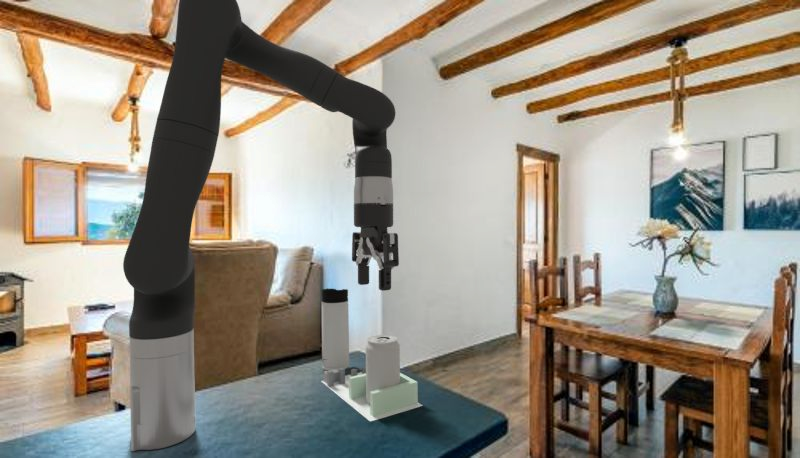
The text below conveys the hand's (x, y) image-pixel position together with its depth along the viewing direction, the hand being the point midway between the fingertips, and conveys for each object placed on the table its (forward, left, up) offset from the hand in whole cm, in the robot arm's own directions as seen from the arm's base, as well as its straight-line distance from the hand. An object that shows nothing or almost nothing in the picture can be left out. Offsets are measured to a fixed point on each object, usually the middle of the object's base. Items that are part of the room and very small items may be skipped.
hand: (373, 287), depth 79 cm
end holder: (+1, -2, -21) cm, 21 cm away
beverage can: (+1, -2, -22) cm, 22 cm away
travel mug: (+1, +21, -23) cm, 31 cm away
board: (0, +3, -23) cm, 23 cm away
